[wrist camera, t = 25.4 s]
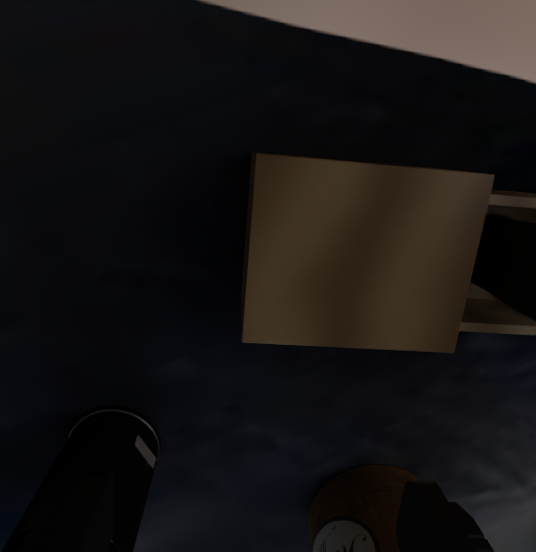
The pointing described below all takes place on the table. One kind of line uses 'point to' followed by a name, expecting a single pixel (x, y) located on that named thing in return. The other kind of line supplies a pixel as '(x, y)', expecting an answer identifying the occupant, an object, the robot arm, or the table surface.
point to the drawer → (483, 305)
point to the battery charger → (508, 262)
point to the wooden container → (358, 510)
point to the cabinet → (359, 253)
